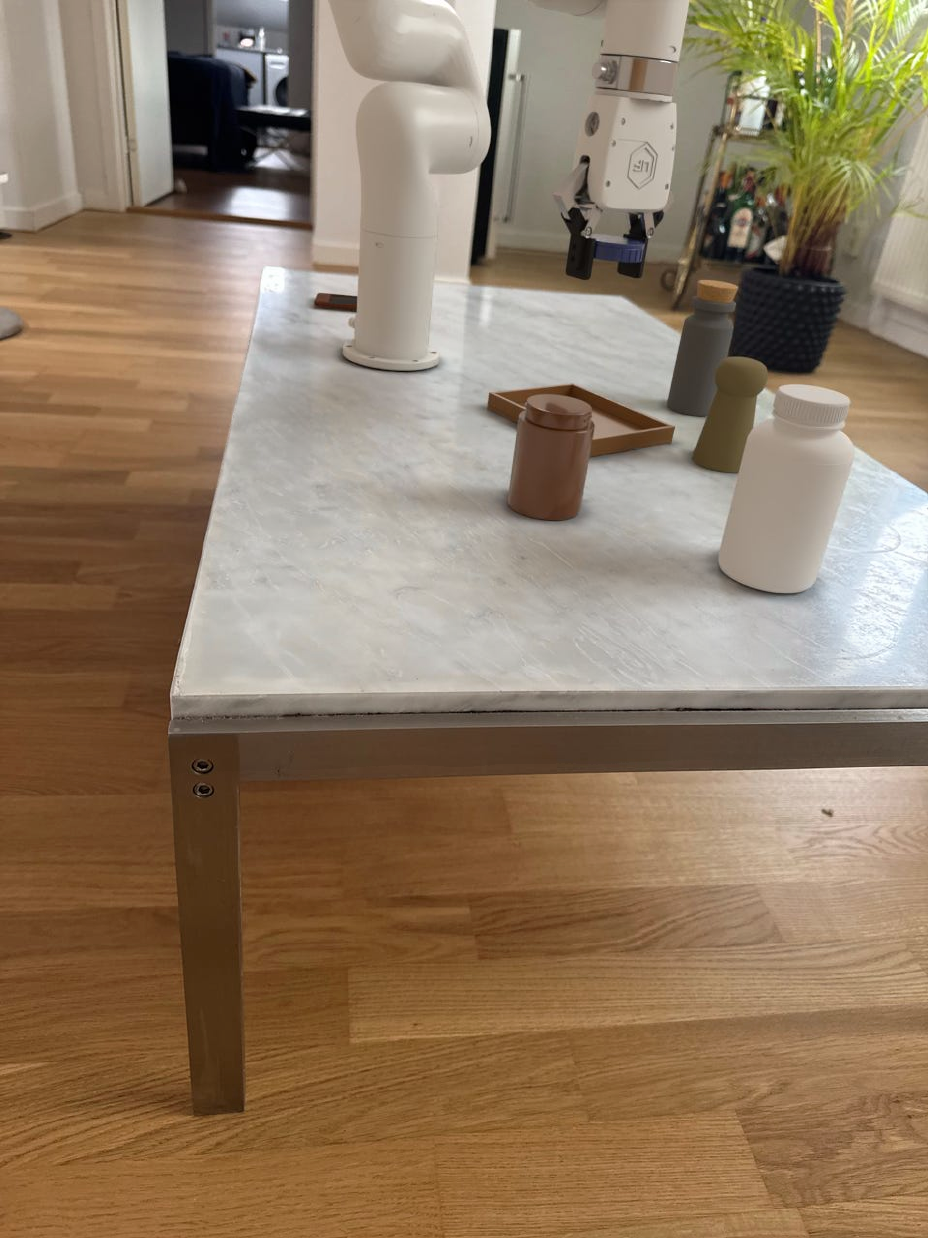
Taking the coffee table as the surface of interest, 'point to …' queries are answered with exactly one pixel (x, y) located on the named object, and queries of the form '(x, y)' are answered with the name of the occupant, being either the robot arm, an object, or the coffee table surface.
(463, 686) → the coffee table surface
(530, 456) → the jar
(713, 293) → the bottle
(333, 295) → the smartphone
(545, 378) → the coffee table surface
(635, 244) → the lid
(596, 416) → the tray
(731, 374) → the olive pepper mill
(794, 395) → the pill bottle
